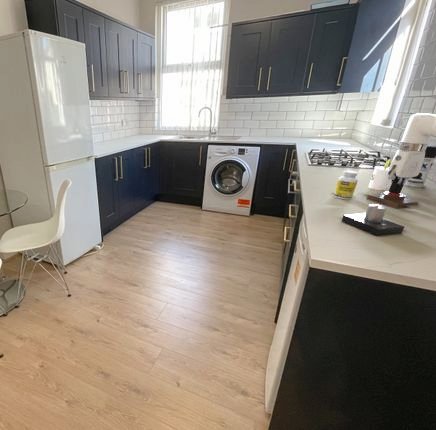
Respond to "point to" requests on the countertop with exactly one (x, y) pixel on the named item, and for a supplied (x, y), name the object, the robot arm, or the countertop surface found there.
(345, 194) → the pill bottle
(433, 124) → the robot arm
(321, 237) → the countertop surface
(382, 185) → the candle
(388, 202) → the button housing
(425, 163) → the spray can
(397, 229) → the panel
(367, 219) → the knob
